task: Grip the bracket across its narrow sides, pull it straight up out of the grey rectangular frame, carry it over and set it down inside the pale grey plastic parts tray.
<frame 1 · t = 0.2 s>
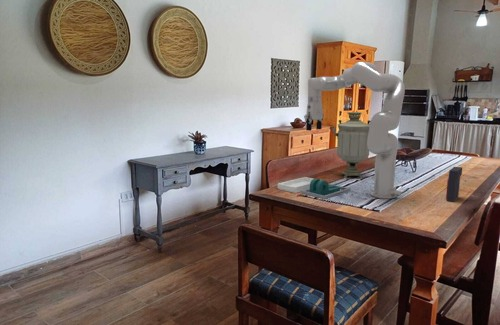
hand: (313, 129, 210), 31 cm above the table, tool pointing down, fingers open, 9 cm apart
bracket: (326, 193, 191), on the table
grey rectangular frame: (326, 192, 190), on the table
parts tray: (300, 187, 202), on the table
samovar: (353, 175, 230), on the table
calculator: (452, 199, 175), on the table
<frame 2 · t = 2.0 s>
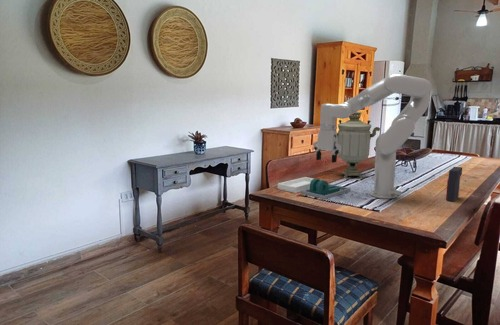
hand: (326, 161, 188), 17 cm above the table, tool pointing down, fingers open, 9 cm apart
nothing on the table moved.
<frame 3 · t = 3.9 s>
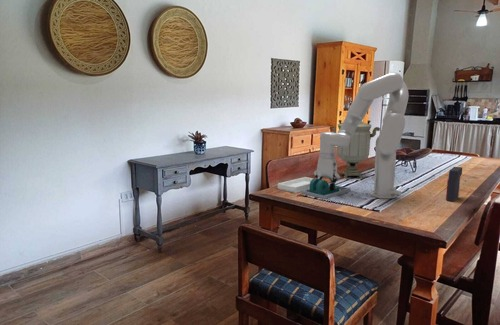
hand: (326, 188, 190), 2 cm above the table, tool pointing down, fingers closed on bracket, 7 cm apart
bracket: (325, 192, 191), on the table, touching gripper
everything else where it was.
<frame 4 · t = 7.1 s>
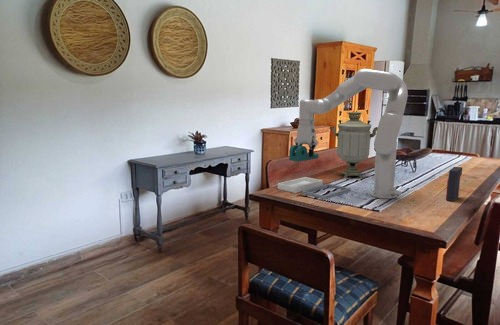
hand: (305, 155, 197), 18 cm above the table, tool pointing down, fingers closed on bracket, 7 cm apart
bracket: (305, 159, 197), point 16 cm above the table, touching gripper
everything else where it was.
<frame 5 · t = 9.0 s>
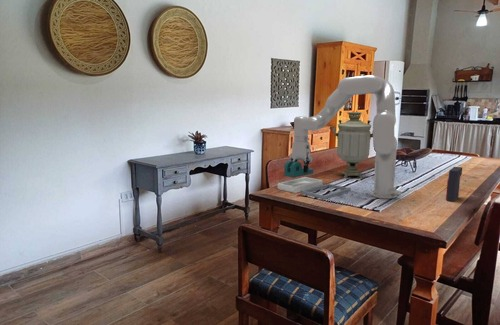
hand: (300, 170, 201), 9 cm above the table, tool pointing down, fingers closed on bracket, 7 cm apart
bracket: (300, 174, 201), point 7 cm above the table, touching gripper
everything else where it was.
when the fingers open (4 cm above the table, at t = 10.5 s): bracket drops 1 cm, resting on parts tray.
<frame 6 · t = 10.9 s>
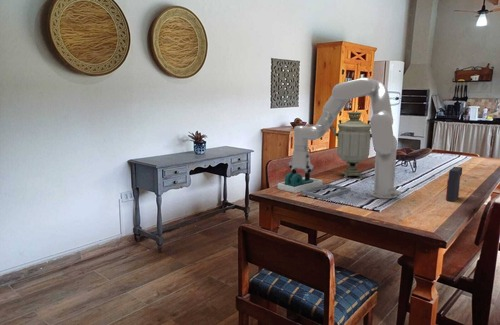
hand: (300, 178, 202), 5 cm above the table, tool pointing down, fingers open, 9 cm apart
bracket: (300, 186, 202), point 1 cm above the table, touching parts tray
everything else where it was.
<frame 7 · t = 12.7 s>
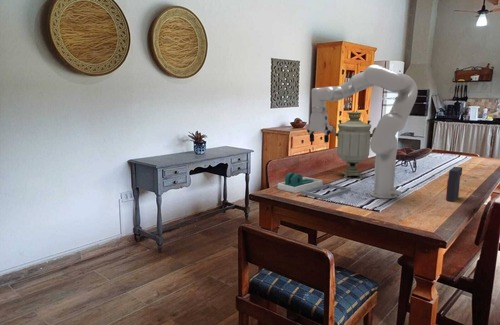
hand: (319, 141, 200), 25 cm above the table, tool pointing down, fingers open, 9 cm apart
nothing on the table moved.
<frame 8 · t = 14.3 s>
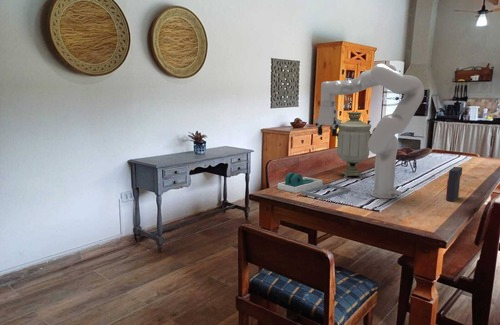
hand: (327, 135, 201), 28 cm above the table, tool pointing down, fingers open, 9 cm apart
nothing on the table moved.
at the end: bracket inside the target area on the parts tray (0.3 cm from its centre), point 0.6 cm above the parts tray's base; bracket tilted 0°; the gripper is holding nothing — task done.
